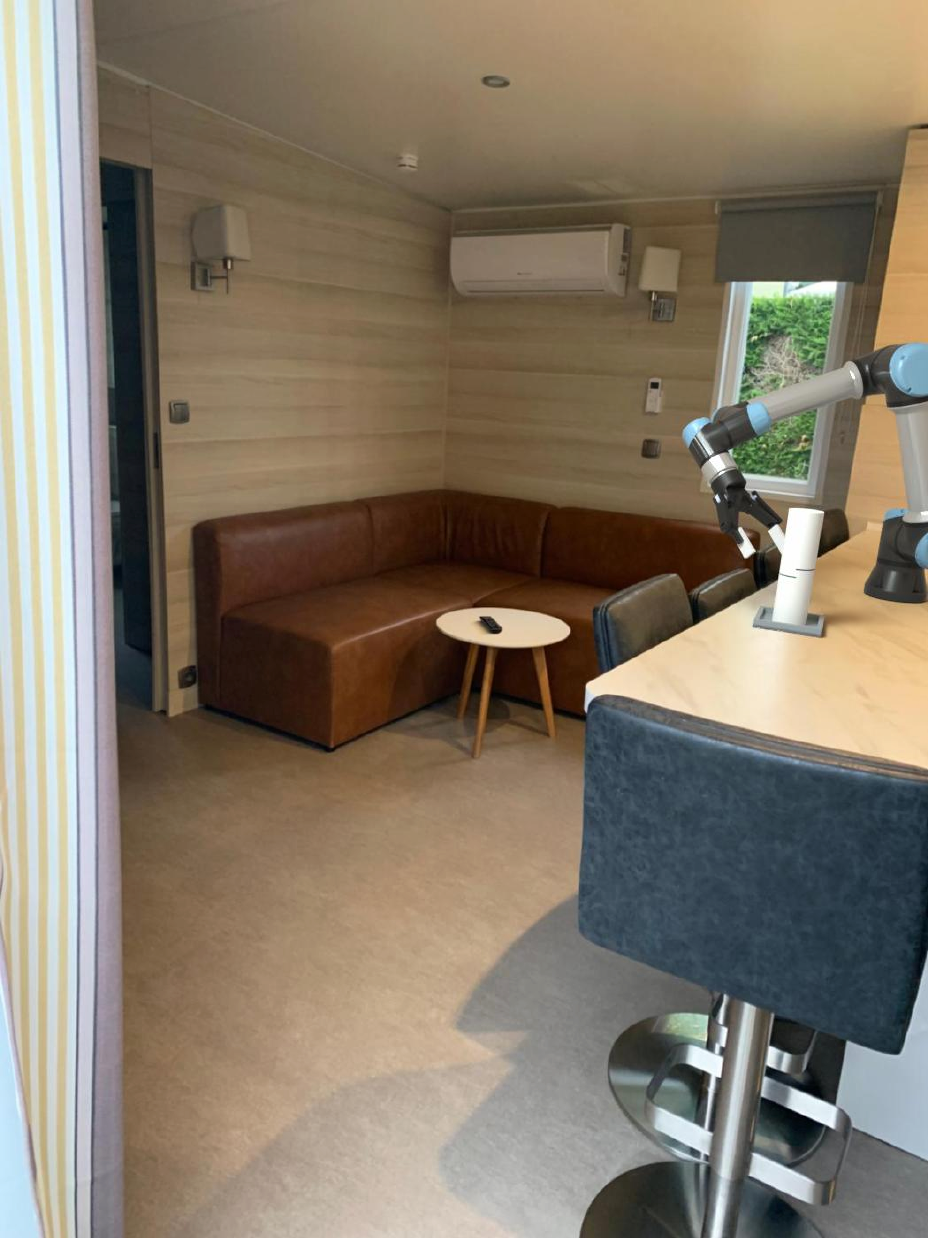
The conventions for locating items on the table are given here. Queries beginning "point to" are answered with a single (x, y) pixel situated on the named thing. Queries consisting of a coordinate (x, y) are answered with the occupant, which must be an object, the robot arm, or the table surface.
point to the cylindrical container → (797, 565)
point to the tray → (811, 627)
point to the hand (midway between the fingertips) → (769, 553)
